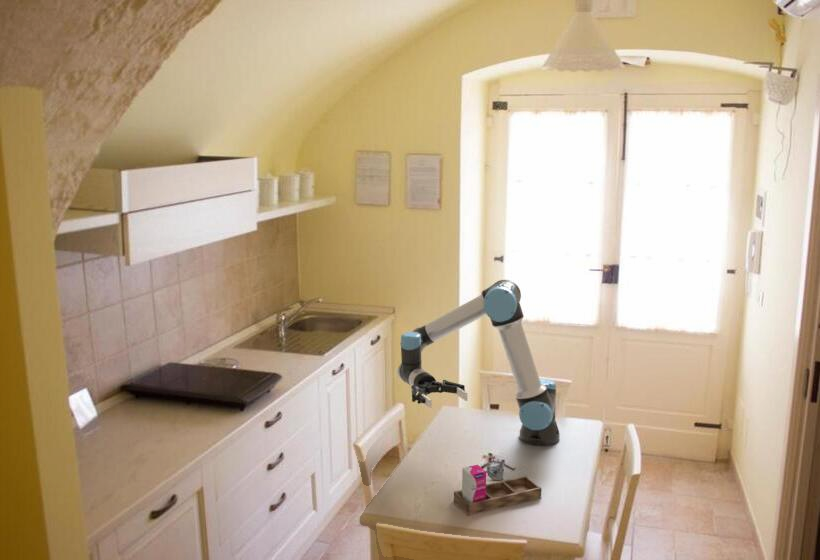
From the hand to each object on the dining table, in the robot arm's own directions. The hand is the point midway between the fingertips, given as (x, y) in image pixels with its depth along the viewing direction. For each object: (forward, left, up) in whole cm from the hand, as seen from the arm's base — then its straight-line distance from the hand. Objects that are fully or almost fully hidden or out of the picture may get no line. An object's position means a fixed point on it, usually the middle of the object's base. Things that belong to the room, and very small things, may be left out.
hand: (448, 400), depth 262 cm
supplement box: (+2, +23, -26) cm, 35 cm away
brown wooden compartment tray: (-6, +23, -27) cm, 36 cm away
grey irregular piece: (-18, +2, -28) cm, 33 cm away
